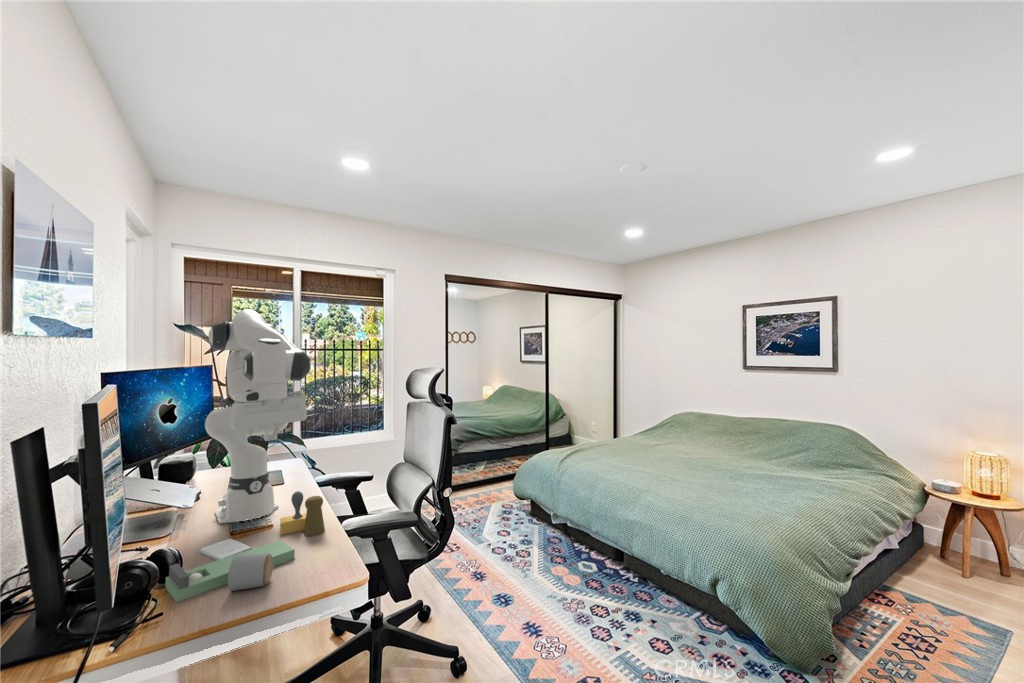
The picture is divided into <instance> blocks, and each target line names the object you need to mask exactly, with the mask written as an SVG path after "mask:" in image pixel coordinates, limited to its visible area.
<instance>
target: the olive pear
mask: <svg viewBox="0 0 1024 683" xmlns="http://www.w3.org/2000/svg"><path fill="white" fill-rule="evenodd" d="M323 504H324V499H323V497H322V496H320V495H314V496H309V497H307V499H305V501H304V506H305V508H306V512H305V513H306V521H305V529H304V530H303V531H304V532H303V535H304V536H306V537H314V536H318V535H321V534H323V533H324V532H326V530H325V521H324V516H323V511H322V510H323V509H322V506H323Z"/></svg>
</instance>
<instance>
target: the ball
mask: <svg viewBox="0 0 1024 683" xmlns="http://www.w3.org/2000/svg"><path fill="white" fill-rule="evenodd" d="M202 577H203V576H202V575H201V574H200V573H193V574H192V575H190V576H189V582H190V581H193V580H196V579H199V578H202Z"/></svg>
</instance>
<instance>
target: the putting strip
mask: <svg viewBox="0 0 1024 683" xmlns="http://www.w3.org/2000/svg"><path fill="white" fill-rule="evenodd" d="M295 551H296V550H295V548H293V547H292V546H290V545H288V544H286V543H285V542H283V541H282V540H278V539H277V540H276V541H273V542H270V543H265V544H263V545H261V546H260V545H259V546H258V547H254V548H252V549H251V550H248V551H245V552H242V553H239V554H236V555H244V554H261V553H266V554H271V555H272V557H273V567H276V566H279V565H281V564H285V563H286V562H289V561H292V560H295V559H296V558H295V554H296V553H295ZM236 555H233V556H230V557H226V558H223V559H220V560H215V561H211V562H209V563H208V562H207V563H206V564H202V565H200V566H197V567H194V568H190V569H187V570H184V568H183V567H181V565H180V564H179V563H174V564H171V565H169V568H168V569H169V570H168V571H169V572H168V574H169V575H168V576H166V577H165V589H166V590H167V592H168V593H169V594H170V596H171V597H172V599H173V600H174V602H176V603H179V602H181V601H184V600H186V599H189V598H191V597H194V596H197V595H199V594H200V595H201V594H203V593H206V592H208V591H210V590H213V589H216V588H219V587H221V586H224V585H228V573H229V569H230V564H231V562H232V560H233V558H234V557H235V556H236ZM193 573H200V574H201V575H202V576H203V577H202V578H199V579H196V580H193V581H190V582H189V576H190V575H192V574H193Z"/></svg>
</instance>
